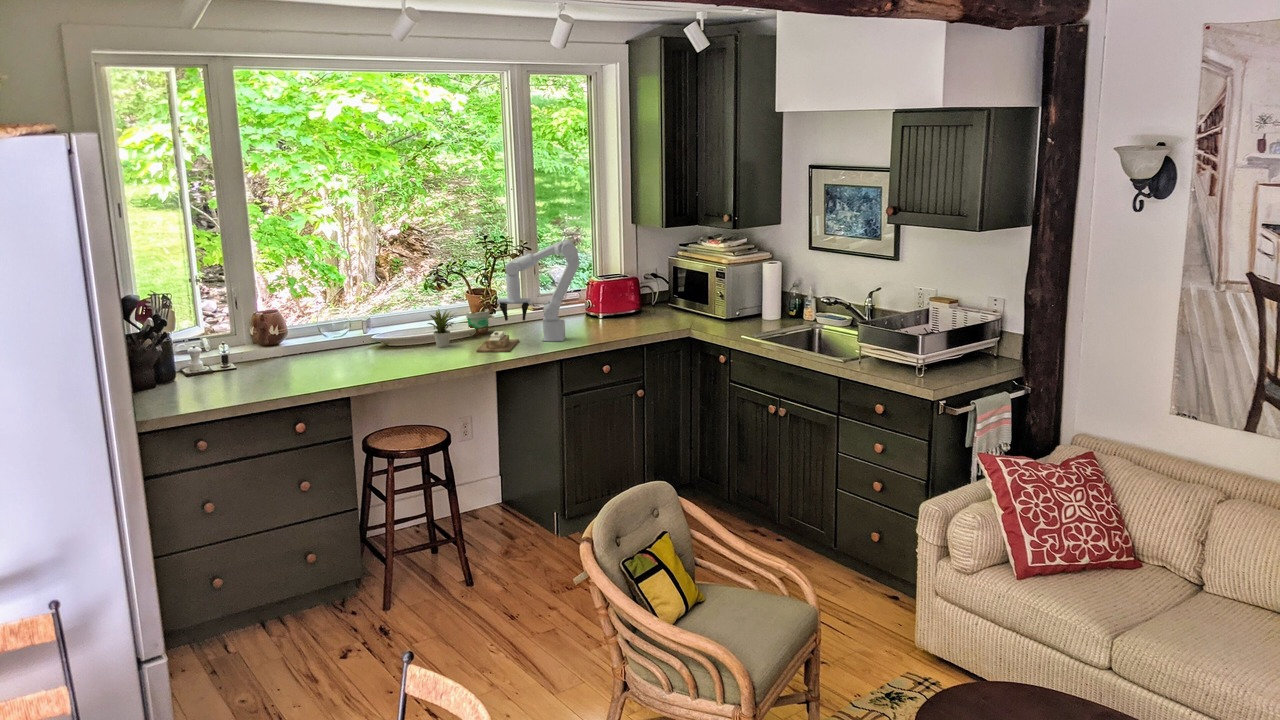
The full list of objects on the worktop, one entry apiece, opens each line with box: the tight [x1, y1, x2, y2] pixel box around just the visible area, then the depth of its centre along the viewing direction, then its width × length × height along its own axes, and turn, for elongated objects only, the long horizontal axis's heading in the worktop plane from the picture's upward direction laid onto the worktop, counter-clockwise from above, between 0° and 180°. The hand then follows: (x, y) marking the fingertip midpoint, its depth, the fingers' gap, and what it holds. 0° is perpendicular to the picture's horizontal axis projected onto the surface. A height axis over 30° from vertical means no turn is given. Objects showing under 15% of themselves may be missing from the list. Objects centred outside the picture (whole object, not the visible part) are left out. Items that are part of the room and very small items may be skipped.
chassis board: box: [475, 334, 520, 353], centre depth 427 cm, size 14×20×4 cm
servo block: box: [488, 330, 507, 341], centre depth 426 cm, size 4×13×6 cm, turn 175°
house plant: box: [426, 308, 458, 348], centre depth 427 cm, size 14×14×16 cm
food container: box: [465, 308, 491, 336], centre depth 451 cm, size 12×6×10 cm, turn 143°
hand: (515, 320), depth 434 cm, fingers open, 7 cm apart
